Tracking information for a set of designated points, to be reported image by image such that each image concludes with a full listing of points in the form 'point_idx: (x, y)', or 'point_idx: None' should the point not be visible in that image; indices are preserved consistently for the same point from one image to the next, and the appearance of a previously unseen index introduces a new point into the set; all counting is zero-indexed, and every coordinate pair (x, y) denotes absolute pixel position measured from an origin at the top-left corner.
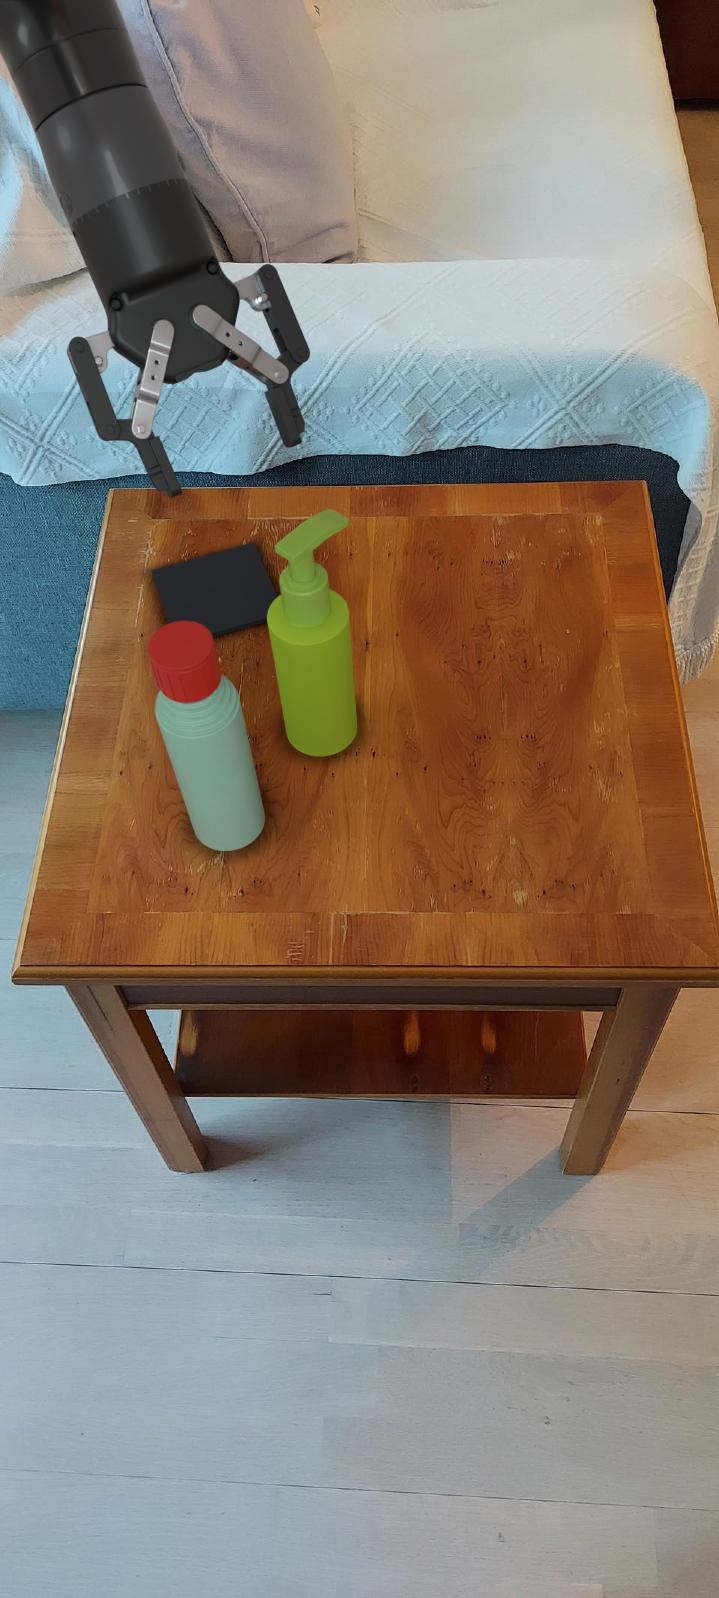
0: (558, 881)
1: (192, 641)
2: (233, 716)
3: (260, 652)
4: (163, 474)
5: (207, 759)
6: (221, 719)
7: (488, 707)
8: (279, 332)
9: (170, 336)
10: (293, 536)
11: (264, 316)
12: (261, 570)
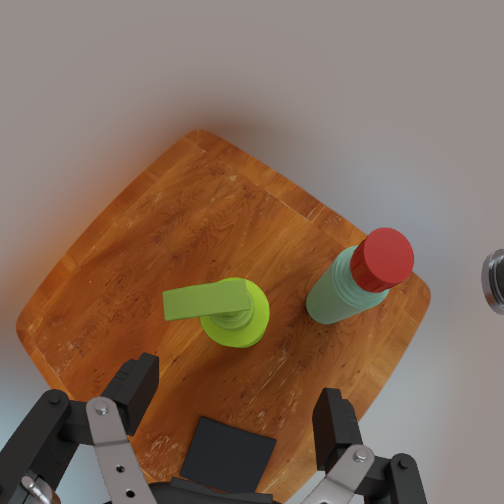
0: (213, 173)
1: (380, 250)
2: (346, 249)
3: (234, 403)
4: (343, 406)
5: None
6: (357, 246)
7: (156, 270)
8: (55, 458)
9: None
10: (225, 304)
11: (55, 488)
12: (190, 454)
